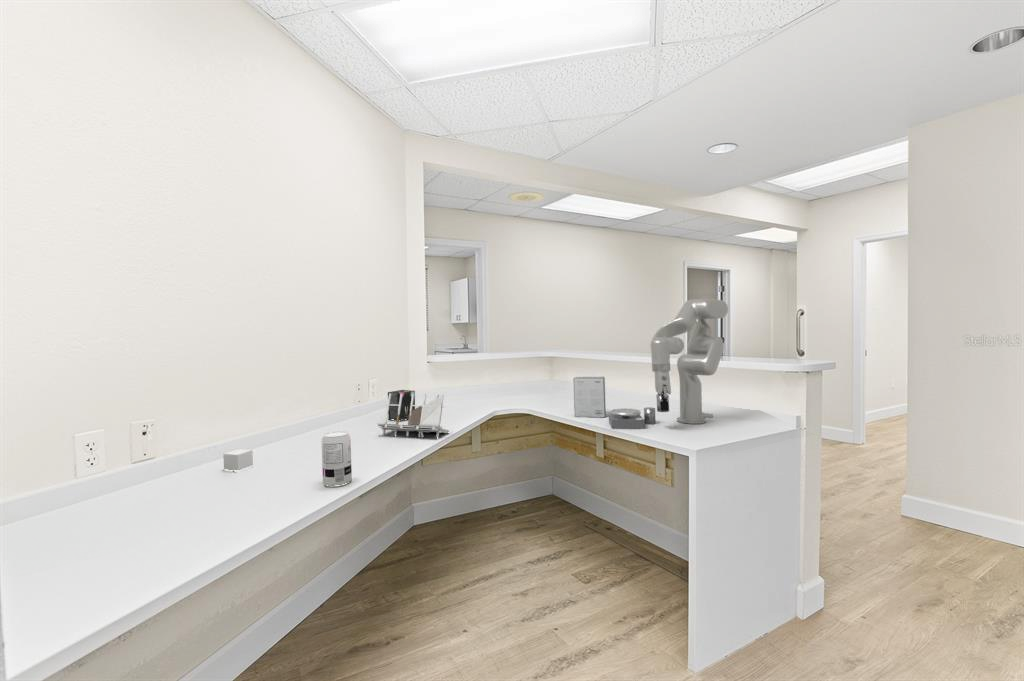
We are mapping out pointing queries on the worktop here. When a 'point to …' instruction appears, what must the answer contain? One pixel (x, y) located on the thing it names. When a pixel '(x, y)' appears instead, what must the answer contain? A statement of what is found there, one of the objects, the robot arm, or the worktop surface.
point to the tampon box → (404, 404)
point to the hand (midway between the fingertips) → (663, 408)
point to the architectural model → (418, 417)
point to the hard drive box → (589, 396)
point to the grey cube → (238, 459)
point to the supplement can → (336, 458)
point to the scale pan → (626, 412)
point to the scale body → (626, 422)
